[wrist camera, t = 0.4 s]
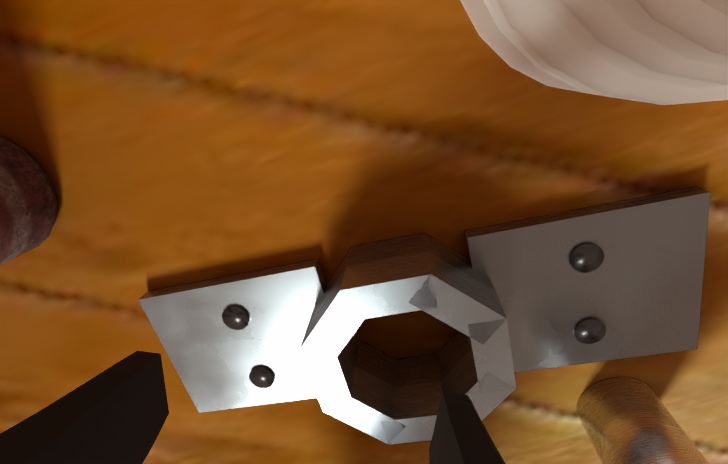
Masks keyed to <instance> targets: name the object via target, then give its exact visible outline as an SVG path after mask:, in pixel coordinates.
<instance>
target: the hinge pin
mask: <svg viewBox="0 0 728 464" xmlns="http://www.w3.org/2000/svg"><path fill="white" fill-rule="evenodd" d="M577 414H578V416H579V418H580V420H581V422H582V424H583V426H584V428H585V430H586V432H587V434H588V436H589V438H590V440H591V442H592V444H593V446H594V448H595V450H596V452H597V454H598V456H599V458H600V460H601V462H602V464H709V463H708V462H707V460H706V459H705V458H704V456H703V455H702V454H701V453H700V451H699V450H698V449H697V447H696V446H695V445H694V443H693V442H692V441H691V440H690V438H689V437H688V436H687V434H686V433H685V432H684V431H683V429H682V428H681V427H680V425H679V424H678V423H677V422H676V420H675V419H674V418H673V416H672V415H671V414H670V413H669V411H668V410H667V409H666V407H665V406H664V405H663V403H662V402H661V401H660V400H659V398H658V397H657V396H656V394H655V393H654V392H653V391H652V389H651V388H650V387H649V386H648V385H647V384H645V383H644V382H642V381H640V380H637V379H634V378H628V377H615V378H609V379H605V380H602V381H600V382H597V383H595V384H594V385H592V386H590V387H589V388H588V389H587V390H586V391H585V392H584V393H583V394H582V395H581V397H580V398H579V400H578V403H577Z"/></svg>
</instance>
